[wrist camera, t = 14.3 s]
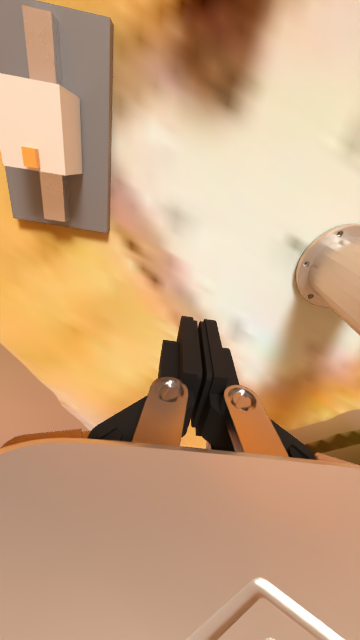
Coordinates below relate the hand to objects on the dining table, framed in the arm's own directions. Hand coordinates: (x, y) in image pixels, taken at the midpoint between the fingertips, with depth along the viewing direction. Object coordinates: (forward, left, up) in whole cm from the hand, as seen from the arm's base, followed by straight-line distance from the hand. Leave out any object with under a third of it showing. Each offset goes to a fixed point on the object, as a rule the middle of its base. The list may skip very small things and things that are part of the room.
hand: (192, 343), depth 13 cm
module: (+16, -8, -25) cm, 31 cm away
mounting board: (+16, -8, -27) cm, 32 cm away
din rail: (+16, -8, -25) cm, 31 cm away
